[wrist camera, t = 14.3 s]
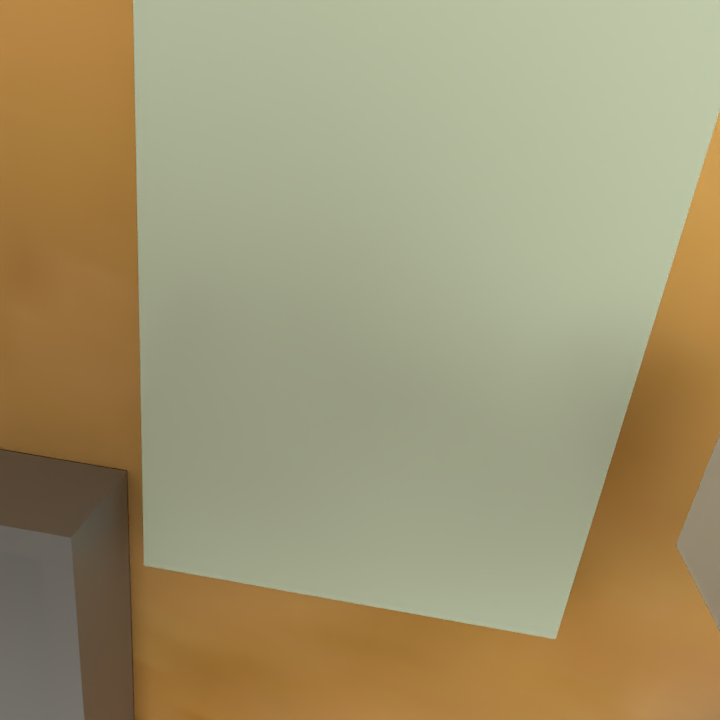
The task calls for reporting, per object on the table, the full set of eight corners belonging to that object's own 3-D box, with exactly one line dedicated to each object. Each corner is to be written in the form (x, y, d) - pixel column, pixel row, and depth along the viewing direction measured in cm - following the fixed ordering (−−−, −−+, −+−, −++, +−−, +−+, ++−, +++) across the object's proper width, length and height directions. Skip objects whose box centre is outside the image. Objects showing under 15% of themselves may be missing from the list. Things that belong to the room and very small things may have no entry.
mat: (155, 546, 23) (143, 565, 22) (149, -131, 16) (130, -144, 15) (551, 616, 22) (555, 639, 22) (756, -66, 15) (777, -76, 14)
